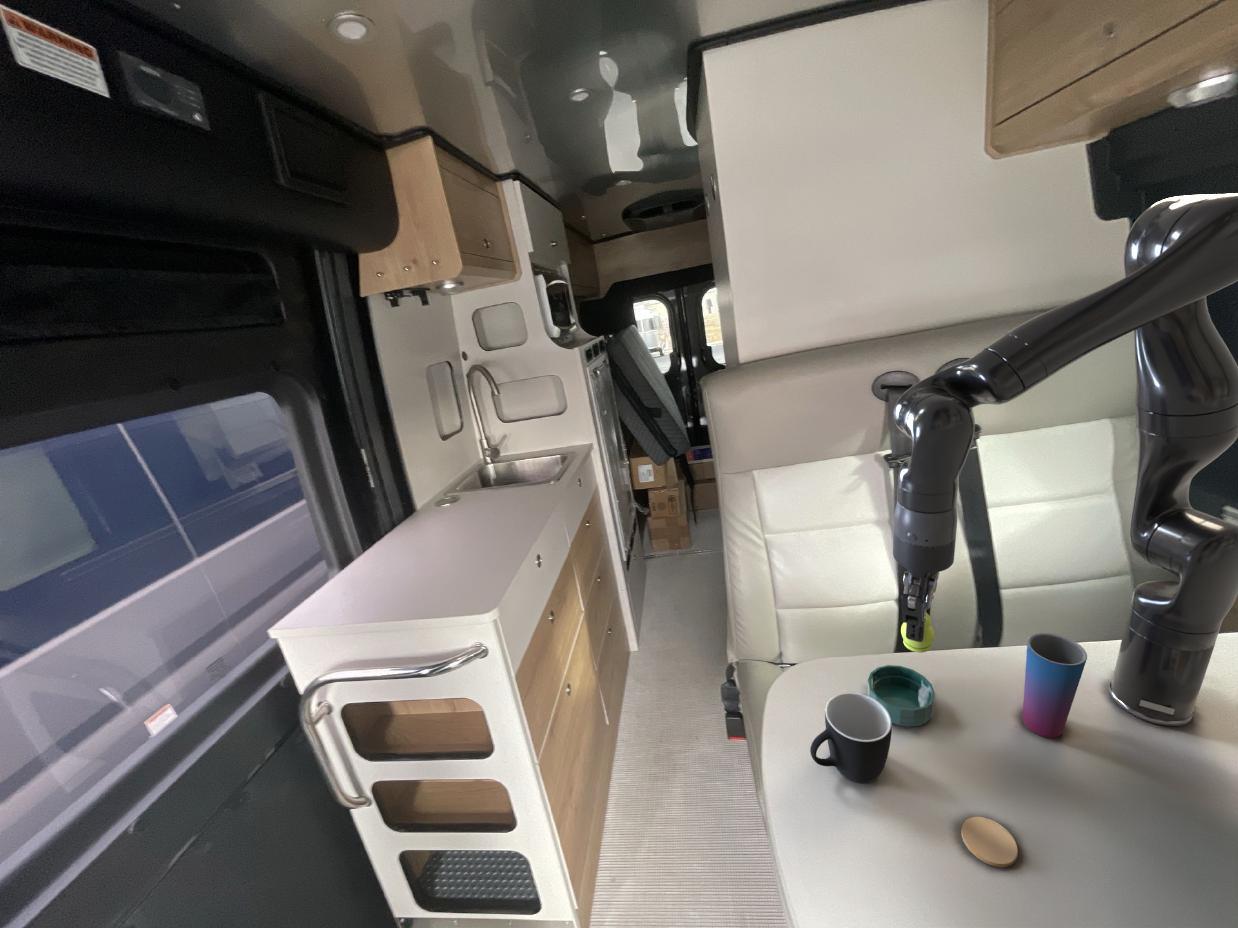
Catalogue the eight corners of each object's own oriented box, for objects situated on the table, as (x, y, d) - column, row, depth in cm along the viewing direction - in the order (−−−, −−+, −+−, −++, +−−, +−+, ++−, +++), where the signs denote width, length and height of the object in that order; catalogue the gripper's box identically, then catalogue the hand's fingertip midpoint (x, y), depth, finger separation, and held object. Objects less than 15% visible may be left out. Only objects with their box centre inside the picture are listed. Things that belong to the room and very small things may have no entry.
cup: (1080, 744, 79) (1098, 665, 74) (1028, 741, 81) (1041, 664, 75) (1055, 707, 85) (1070, 632, 80) (1007, 705, 87) (1018, 632, 81)
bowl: (875, 675, 97) (876, 658, 95) (937, 695, 91) (939, 677, 89) (861, 713, 90) (861, 695, 88) (927, 737, 84) (928, 719, 82)
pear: (903, 631, 84) (906, 591, 81) (935, 640, 81) (939, 599, 78) (897, 648, 81) (899, 607, 78) (930, 658, 78) (933, 616, 75)
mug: (865, 733, 86) (866, 685, 82) (903, 781, 78) (906, 731, 74) (796, 753, 85) (795, 706, 81) (828, 805, 76) (827, 755, 73)
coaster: (964, 811, 73) (964, 808, 73) (1018, 834, 69) (1019, 831, 69) (958, 850, 69) (958, 847, 68) (1015, 876, 65) (1016, 873, 65)
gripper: (947, 562, 66) (938, 668, 73) (963, 512, 76) (954, 609, 83) (881, 549, 71) (878, 650, 77) (905, 503, 81) (901, 596, 87)
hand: (917, 629), depth 80 cm, fingers closed on pear, 4 cm apart
